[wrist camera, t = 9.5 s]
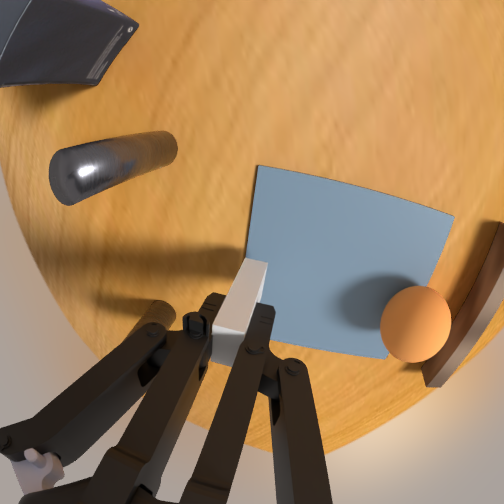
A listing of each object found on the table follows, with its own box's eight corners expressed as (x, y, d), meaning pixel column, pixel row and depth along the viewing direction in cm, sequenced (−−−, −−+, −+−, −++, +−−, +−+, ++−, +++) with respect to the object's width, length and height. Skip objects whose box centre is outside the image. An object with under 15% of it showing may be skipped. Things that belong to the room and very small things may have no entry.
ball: (462, 292, 16) (404, 264, 18) (465, 327, 11) (391, 290, 14) (431, 347, 18) (379, 321, 21) (422, 389, 14) (358, 356, 17)
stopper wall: (500, 221, 14) (517, 234, 12) (513, 228, 13) (530, 241, 11) (421, 368, 21) (426, 387, 19) (435, 369, 21) (440, 387, 19)
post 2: (150, 297, 24) (96, 365, 16) (175, 304, 23) (124, 379, 15) (153, 317, 25) (104, 384, 17) (176, 325, 24) (132, 398, 17)
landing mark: (259, 164, 16) (258, 165, 16) (453, 216, 15) (454, 217, 15) (236, 329, 23) (235, 331, 23) (384, 357, 21) (384, 359, 21)
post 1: (147, 130, 17) (47, 149, 9) (179, 131, 16) (82, 148, 9) (145, 164, 18) (51, 202, 10) (176, 168, 18) (85, 208, 10)
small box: (146, 21, 13) (37, -13, 4) (98, 88, 16) (-14, 96, 7) (86, -11, 11) (3, -28, 2) (50, 43, 14) (-35, 46, 5)
